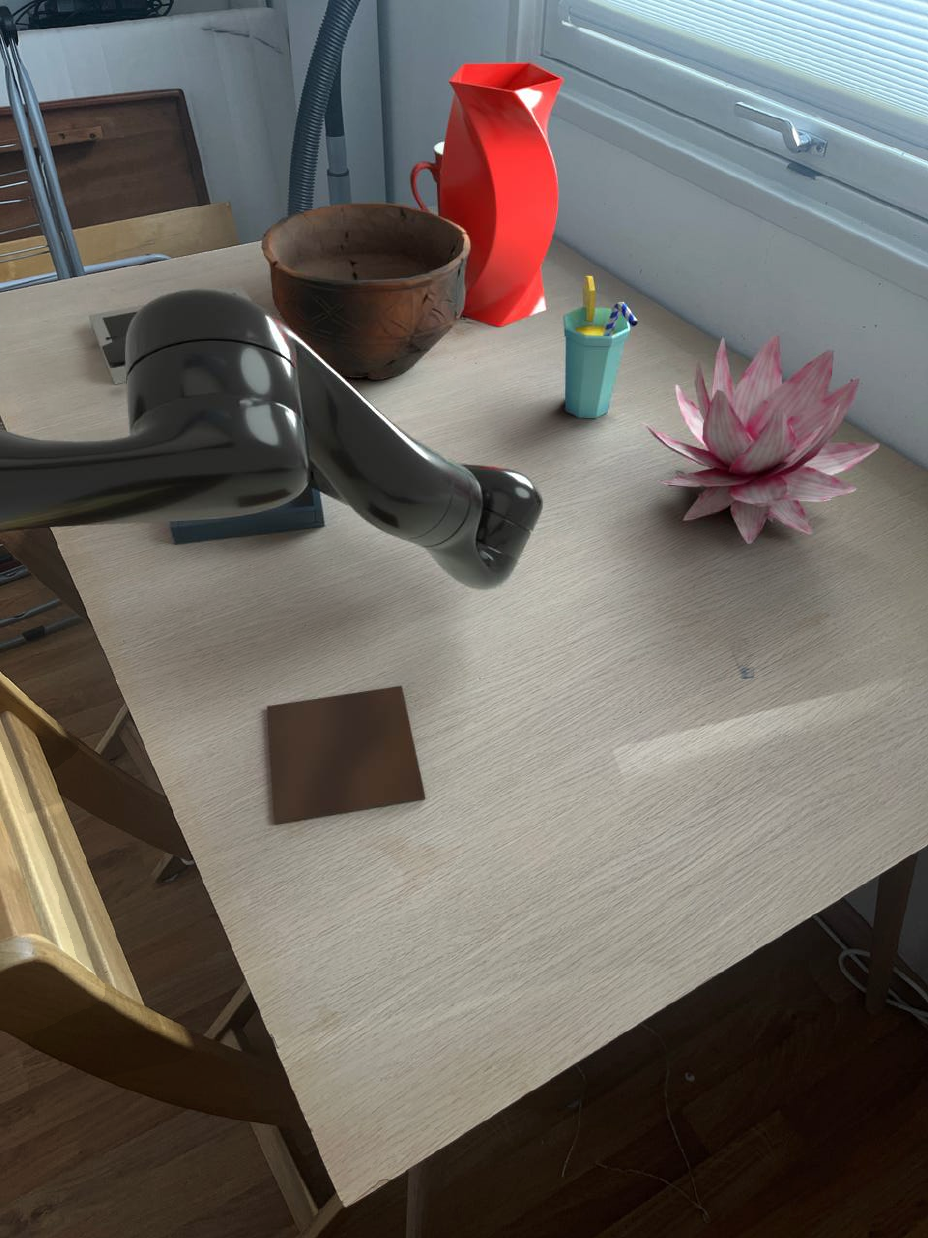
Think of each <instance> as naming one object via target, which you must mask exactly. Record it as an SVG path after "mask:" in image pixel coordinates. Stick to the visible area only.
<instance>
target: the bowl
mask: <svg viewBox="0 0 928 1238" xmlns="http://www.w3.org/2000/svg"><path fill="white" fill-rule="evenodd" d="M260 245H261V250H262V253H263V256H264V257H265V260H266V261H267V262H268V264H269V276H270V282H271V296H272V297H271V298H272V301H273V304H274V306H275V308H276V310H277V312H278V314H279V316H280V317H281V319H283V320H282V321H283V322H284V323H285V324H286V325H287V326H289V327H290V328H291V329H292V330H293V331H294V332H295V333H296V334H297V335H299V336H300V337H301V338H302V339H303V340H304V341H305V342H306V343H307V344H308V345H309V346H310V347H311V348H312V349H313V350H314V351H315V352H316V353H317V354H318V355H319V356H320V357H321V358H322V359H323V360H324V361H325V362H326V363H328V364H329V365H330V366H331V367H332V368H333V369H334V370H335V371H336V372H338V373H339V374H340V375H341V376H344V377H347V378H365V377H366V378H368V379H369V380H377V381H380V380H383V379H388V378H391V377H395V376H398V375H400V374H402V373H404V372H407V371H408V370H410V369H411V368H412V367H414V366H415V365H416V364H417V363H418V362H419V361H420V360H421V358H423V357H424V356H425V355H426V354H427V353H428V352H430V351H431V349H432V348H433V347H435V346H436V344H438V342H439V341H440V340H441V339H442V338H444V336H446V334H447V333H448V332H449V331H450V330H451V329H452V328H453V327H454V326H455V325H456V324H457V323H458V321H459V320H460V318H461V316H462V315H461V313H462V311H463V310H464V304H465V293H466V291H465V285H464V274H465V266H466V260H467V257H468V254H469V251H470V239H469V237H468V235H467V232H466V231H465V230H464V229H463V228H461V227H460V226H459V225H457V224H454V223H453V222H452V221H450V220H447V219H445V218H443V217H440V216H438V214H435V213H433V212H431V211H430V212H428V211H425V210H421V208H418V207H413V206H407V205H403V204H395V203H387V202H346V203H339V204H333V205H327V206H321V207H317V208H312V209H307V210H306V209H305V210H302V211H301V212H297V213H294V214H293V213H292V214H291V215H288V216H286V217H283V218H281V219H280V220H278V222H276V223H274V224H273V225H272V226H270V227H269V228H268V229H267V230H266V231H265V233H264V234H263V236H262V237H261V243H260Z"/></svg>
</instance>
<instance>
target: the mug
mask: <svg viewBox="0 0 928 1238" xmlns="http://www.w3.org/2000/svg"><path fill="white" fill-rule="evenodd" d="M444 142H445V140H443V141H440V142H438V143H436V144H435V145H434V146H433V152H434V159H435V162H430V161H427V160H426V161H425V160H423V161H419V162H417V163H415V164H414V166H413V167H412V169H411V171H410V175H409V182H410V189H411V193H412V196H413V197H414V200H415V202H416V204H417V205H418V207H419V209H421V210H425V211H428V212H431V211H430V210H429V209H428V208H427V206H426V204H424V202H423V200H422V199H421V197H420V195H419V192H418V188H417V178H418V175H419V173H420V172H421V171H423V170H425V169H426V170H428V171H429V172H430V173H431V175H432V178H433V181H434V182H435V183H436V201H437V215H438V216H440V177H441V165H442V156H443V149H444Z"/></svg>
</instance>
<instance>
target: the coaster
mask: <svg viewBox="0 0 928 1238" xmlns="http://www.w3.org/2000/svg"><path fill="white" fill-rule="evenodd" d="M266 715H267V730H268V745H269V763H270V777H271V794H272V807H273V809H272V810H273V823H274V825H282V824H289V823H293V822H299V821H300V822H301V821H305V820H312V819H316V818H323V817H329V816H334V815H340V814H345V813H351V812H357V811H363V810H368V809H375V808H380V807H386V806H393V805H398V804H403V803H404V804H405V803H411V802H415V801H421V800H425V799H426V793H425V788H424V783H423V779H422V773H421V770H420V769H421V768H420V764H419V760H418V754H417V751H416V745H415V740H414V736H413V731H412V727H411V721H410V717H409V713H408V708H407V703H406V699H405V694H404V689H403V686H402V685H398V686H397V685H396V686H391V687H385V688H378V689H371V690H365V691H357V692H352V693H351V692H350V693H345V694H338V695H330V696H325V697H318V698H311V699H305V700H299V701H293V702H292V701H291V702H286V703H280V704H273V705H267V706H266Z"/></svg>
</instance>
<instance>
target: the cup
mask: <svg viewBox="0 0 928 1238" xmlns="http://www.w3.org/2000/svg"><path fill="white" fill-rule="evenodd" d="M594 282H595V281H594V276H592V275H586V276H584V281H583V288H582V304H583V305H582V307H580V308H577V309H574V310H572V311H570V312H568V313H566V314H564V315H563V318H562V319H563V333H564V337H565V359H564V360H565V363H564V364H565V367H564V368H565V369H564V370H565V372H564V373H565V374H564V389H565V390H564V405H565V407H564V408H565V412H567V413H569V414H571V415H573V416H574V417H577V418H580V419H582V418H583V419H597V418H599V417H601V416H603V415H604V414H606V413H608V412H609V407H610V404H611V399H612V396H613V391H614V387H615V383H616V379H617V375H618V372H619V366H620V362H621V359H622V355H623V350H624V347H625V341H626V340H627V339H628V338H629V337H630V333H631V327H635V326H637V325H638V323H639V321H638V319H637V318H636V316H635V315H634V314H633V312H632V310H631V309H630V308H629V307H628V305H627V303H626V302H624V301H618V302H617V303H616V304H615V305H614V306H613V307H612V309H611V308H609V307H596V289H595V283H594Z"/></svg>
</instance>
